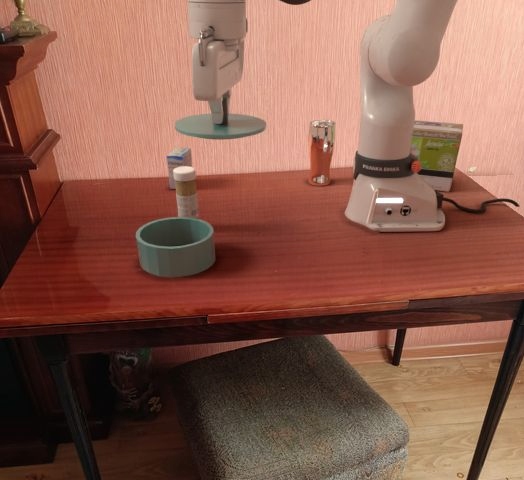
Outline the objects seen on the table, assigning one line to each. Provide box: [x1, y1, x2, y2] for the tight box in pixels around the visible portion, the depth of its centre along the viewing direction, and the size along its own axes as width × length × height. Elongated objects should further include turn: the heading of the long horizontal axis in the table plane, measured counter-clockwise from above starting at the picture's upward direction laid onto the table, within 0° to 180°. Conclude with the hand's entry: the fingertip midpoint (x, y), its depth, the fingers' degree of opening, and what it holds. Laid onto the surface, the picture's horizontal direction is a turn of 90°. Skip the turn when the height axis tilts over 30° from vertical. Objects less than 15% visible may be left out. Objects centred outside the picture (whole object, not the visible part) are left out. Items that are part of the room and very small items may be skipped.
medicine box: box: [166, 147, 193, 190], centre depth 137 cm, size 8×4×9 cm, turn 172°
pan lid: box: [174, 96, 267, 141], centre depth 88 cm, size 16×16×5 cm
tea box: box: [410, 119, 464, 193], centre depth 135 cm, size 15×10×15 cm
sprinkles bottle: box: [173, 166, 200, 219], centre depth 111 cm, size 5×5×14 cm
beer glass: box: [307, 119, 337, 187], centre depth 136 cm, size 7×7×15 cm
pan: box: [135, 216, 217, 278], centre depth 101 cm, size 15×15×6 cm
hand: (220, 120), depth 89 cm, fingers closed on pan lid, 2 cm apart
